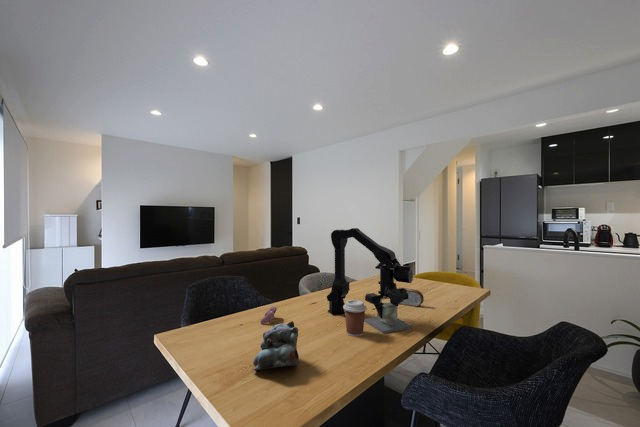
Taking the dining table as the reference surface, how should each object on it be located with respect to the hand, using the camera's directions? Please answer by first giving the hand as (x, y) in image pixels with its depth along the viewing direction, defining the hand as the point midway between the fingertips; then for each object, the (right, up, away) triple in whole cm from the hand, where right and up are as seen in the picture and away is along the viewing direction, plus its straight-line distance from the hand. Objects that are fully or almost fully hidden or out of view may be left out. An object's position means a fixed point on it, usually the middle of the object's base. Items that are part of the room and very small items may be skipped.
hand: (387, 316), depth 116 cm
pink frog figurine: (-51, -4, +5) cm, 51 cm away
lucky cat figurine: (-42, -3, -33) cm, 53 cm away
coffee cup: (-15, -3, -9) cm, 17 cm away
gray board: (0, -3, 0) cm, 3 cm away
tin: (+18, -4, +27) cm, 33 cm away
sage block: (0, -1, 0) cm, 1 cm away
